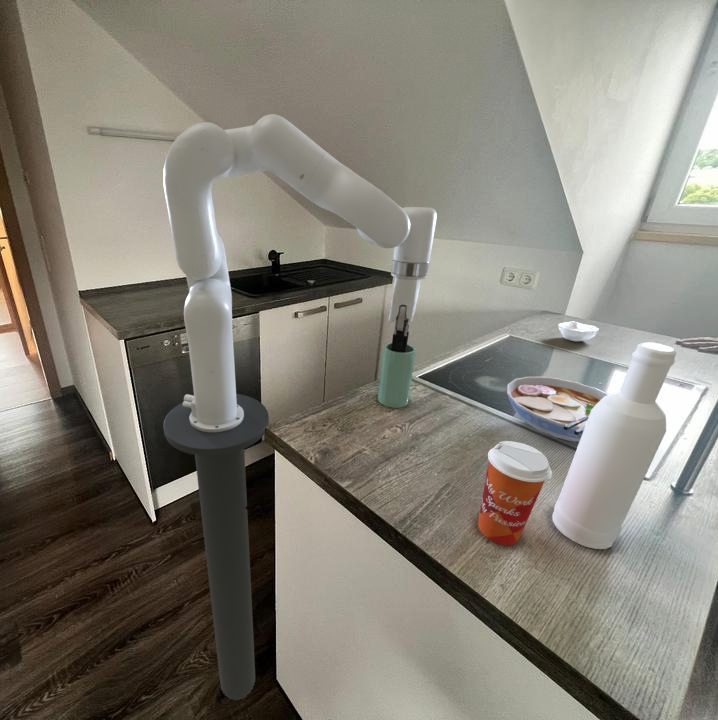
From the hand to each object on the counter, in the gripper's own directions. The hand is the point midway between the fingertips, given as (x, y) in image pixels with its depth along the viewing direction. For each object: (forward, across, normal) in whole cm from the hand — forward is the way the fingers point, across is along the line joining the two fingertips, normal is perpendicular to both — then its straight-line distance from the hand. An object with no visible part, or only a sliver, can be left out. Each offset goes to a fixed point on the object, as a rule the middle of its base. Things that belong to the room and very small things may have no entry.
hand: (398, 348), depth 90 cm
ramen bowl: (+14, 0, +35) cm, 38 cm away
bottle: (+14, +30, +32) cm, 46 cm away
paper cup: (+14, +35, +20) cm, 43 cm away
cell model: (+13, -67, +54) cm, 87 cm away
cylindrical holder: (+14, 0, 0) cm, 14 cm away
